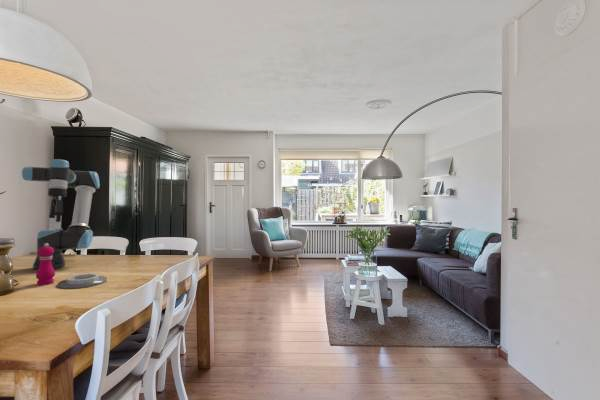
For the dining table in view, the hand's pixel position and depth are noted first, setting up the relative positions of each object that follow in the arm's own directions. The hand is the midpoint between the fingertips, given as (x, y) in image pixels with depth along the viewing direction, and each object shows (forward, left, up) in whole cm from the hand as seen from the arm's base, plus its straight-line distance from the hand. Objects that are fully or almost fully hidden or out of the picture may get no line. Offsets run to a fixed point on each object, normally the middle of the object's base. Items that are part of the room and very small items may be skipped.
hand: (54, 229), depth 151 cm
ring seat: (+10, +14, -26) cm, 31 cm away
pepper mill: (+4, -2, -26) cm, 27 cm away
